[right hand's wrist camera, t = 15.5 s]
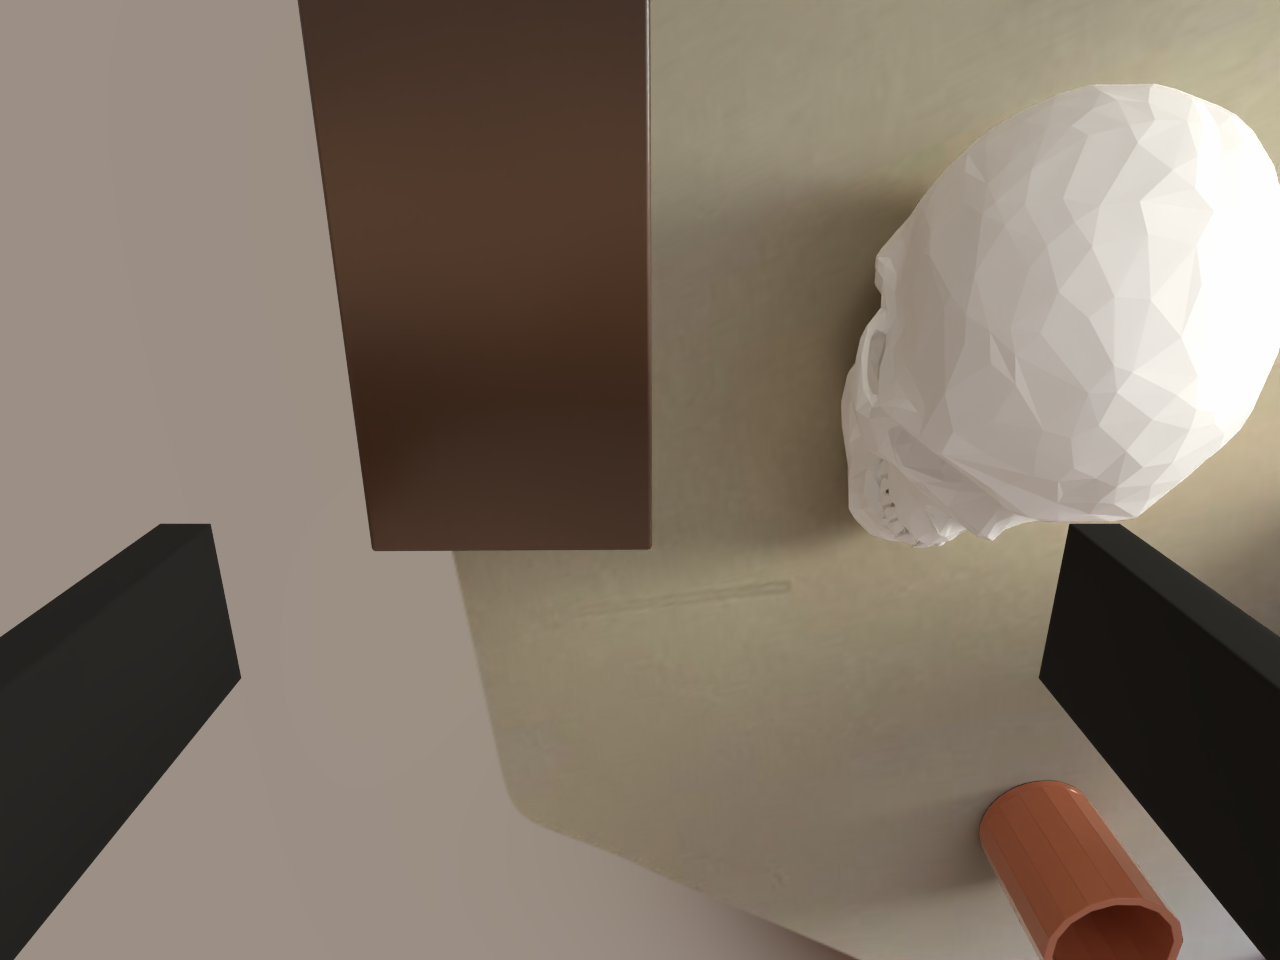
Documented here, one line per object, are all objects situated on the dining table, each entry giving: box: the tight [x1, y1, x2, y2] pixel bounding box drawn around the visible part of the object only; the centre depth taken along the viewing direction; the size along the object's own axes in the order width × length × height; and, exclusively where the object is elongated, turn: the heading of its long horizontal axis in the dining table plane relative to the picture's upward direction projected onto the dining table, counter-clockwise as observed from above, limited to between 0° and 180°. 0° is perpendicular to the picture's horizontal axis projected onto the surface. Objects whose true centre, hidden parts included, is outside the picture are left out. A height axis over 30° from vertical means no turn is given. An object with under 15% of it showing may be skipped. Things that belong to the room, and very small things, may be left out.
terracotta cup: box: [979, 781, 1183, 960], centre depth 48 cm, size 7×7×9 cm
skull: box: [841, 84, 1280, 548], centre depth 34 cm, size 13×22×16 cm, turn 165°
